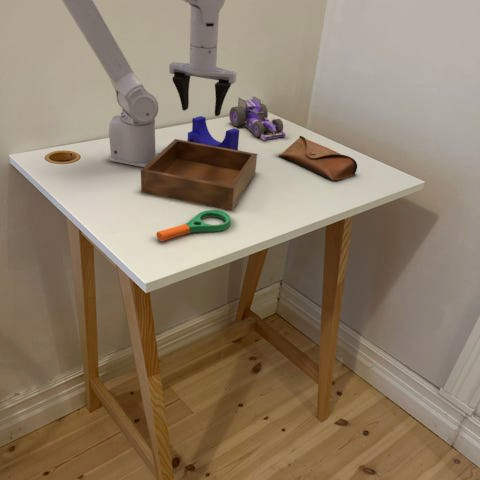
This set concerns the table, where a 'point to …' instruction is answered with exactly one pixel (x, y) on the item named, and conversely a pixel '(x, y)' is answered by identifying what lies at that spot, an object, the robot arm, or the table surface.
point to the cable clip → (204, 137)
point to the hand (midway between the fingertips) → (201, 112)
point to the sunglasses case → (320, 159)
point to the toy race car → (255, 119)
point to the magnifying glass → (196, 225)
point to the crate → (199, 174)
